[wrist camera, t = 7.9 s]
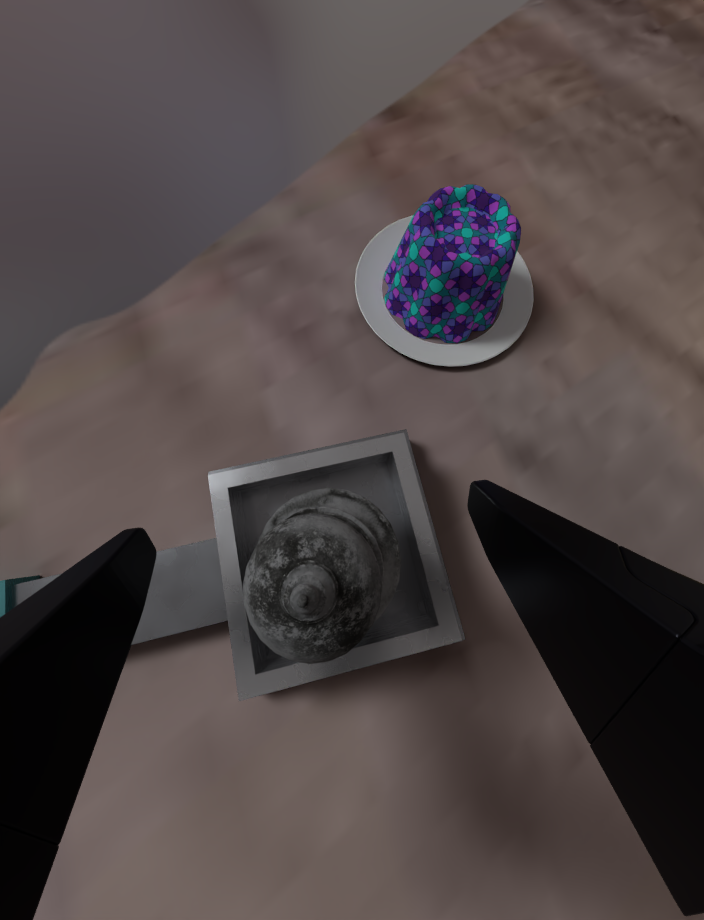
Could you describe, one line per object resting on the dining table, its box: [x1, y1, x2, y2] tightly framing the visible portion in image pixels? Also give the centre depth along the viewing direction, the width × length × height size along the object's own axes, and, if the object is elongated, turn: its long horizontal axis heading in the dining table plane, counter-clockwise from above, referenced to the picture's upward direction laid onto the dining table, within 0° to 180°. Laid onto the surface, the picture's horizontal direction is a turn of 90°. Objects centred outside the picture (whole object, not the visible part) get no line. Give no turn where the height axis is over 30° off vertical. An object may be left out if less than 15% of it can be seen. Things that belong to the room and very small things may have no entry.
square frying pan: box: [0, 429, 465, 701], centre depth 16 cm, size 11×29×4 cm, turn 103°
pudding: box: [355, 185, 534, 366], centre depth 20 cm, size 12×12×5 cm
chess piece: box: [243, 488, 401, 664], centre depth 11 cm, size 6×6×12 cm
